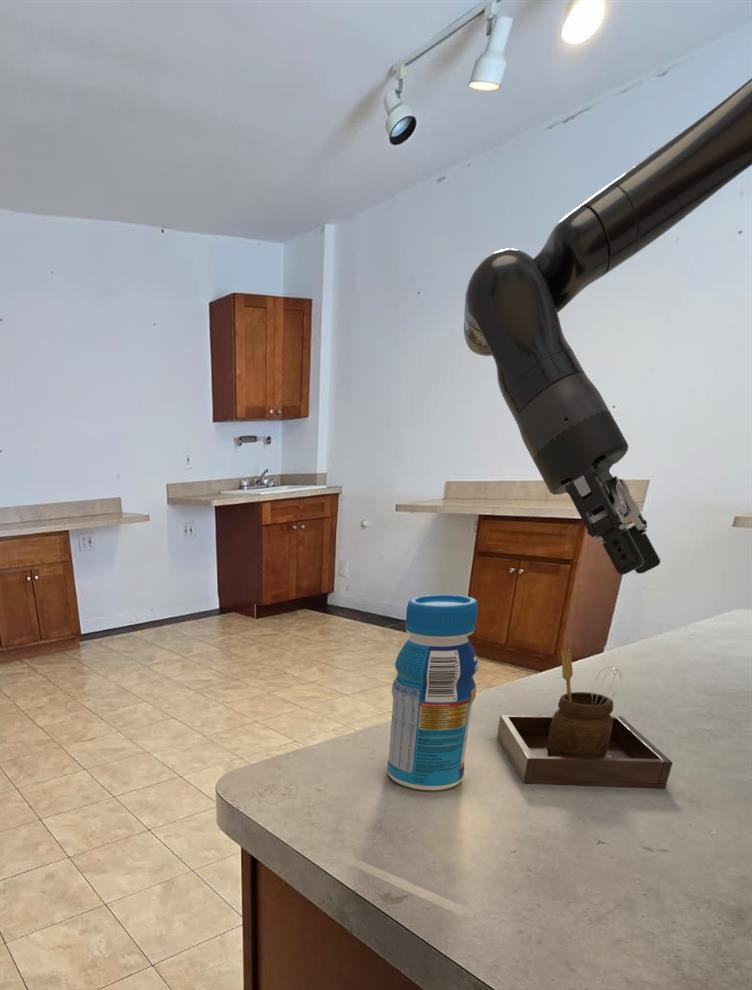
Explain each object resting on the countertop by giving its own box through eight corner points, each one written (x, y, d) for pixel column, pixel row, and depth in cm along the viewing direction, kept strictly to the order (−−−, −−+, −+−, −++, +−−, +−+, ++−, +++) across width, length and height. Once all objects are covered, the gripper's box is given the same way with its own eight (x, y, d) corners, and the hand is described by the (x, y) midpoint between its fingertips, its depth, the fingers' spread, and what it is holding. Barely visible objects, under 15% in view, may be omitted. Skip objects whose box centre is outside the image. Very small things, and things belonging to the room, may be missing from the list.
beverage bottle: (370, 777, 74) (382, 603, 65) (410, 755, 78) (426, 590, 70) (439, 800, 68) (461, 611, 59) (478, 775, 72) (503, 596, 64)
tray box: (616, 738, 79) (621, 716, 77) (665, 788, 67) (673, 762, 65) (496, 736, 82) (500, 714, 81) (523, 783, 70) (527, 758, 69)
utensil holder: (587, 771, 70) (610, 665, 65) (532, 754, 75) (550, 654, 70) (615, 757, 73) (640, 654, 68) (560, 741, 78) (579, 644, 73)
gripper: (589, 396, 60) (672, 547, 58) (623, 419, 69) (695, 549, 68) (511, 452, 65) (584, 592, 63) (553, 466, 75) (617, 587, 73)
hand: (641, 569), depth 65 cm, fingers open, 8 cm apart
